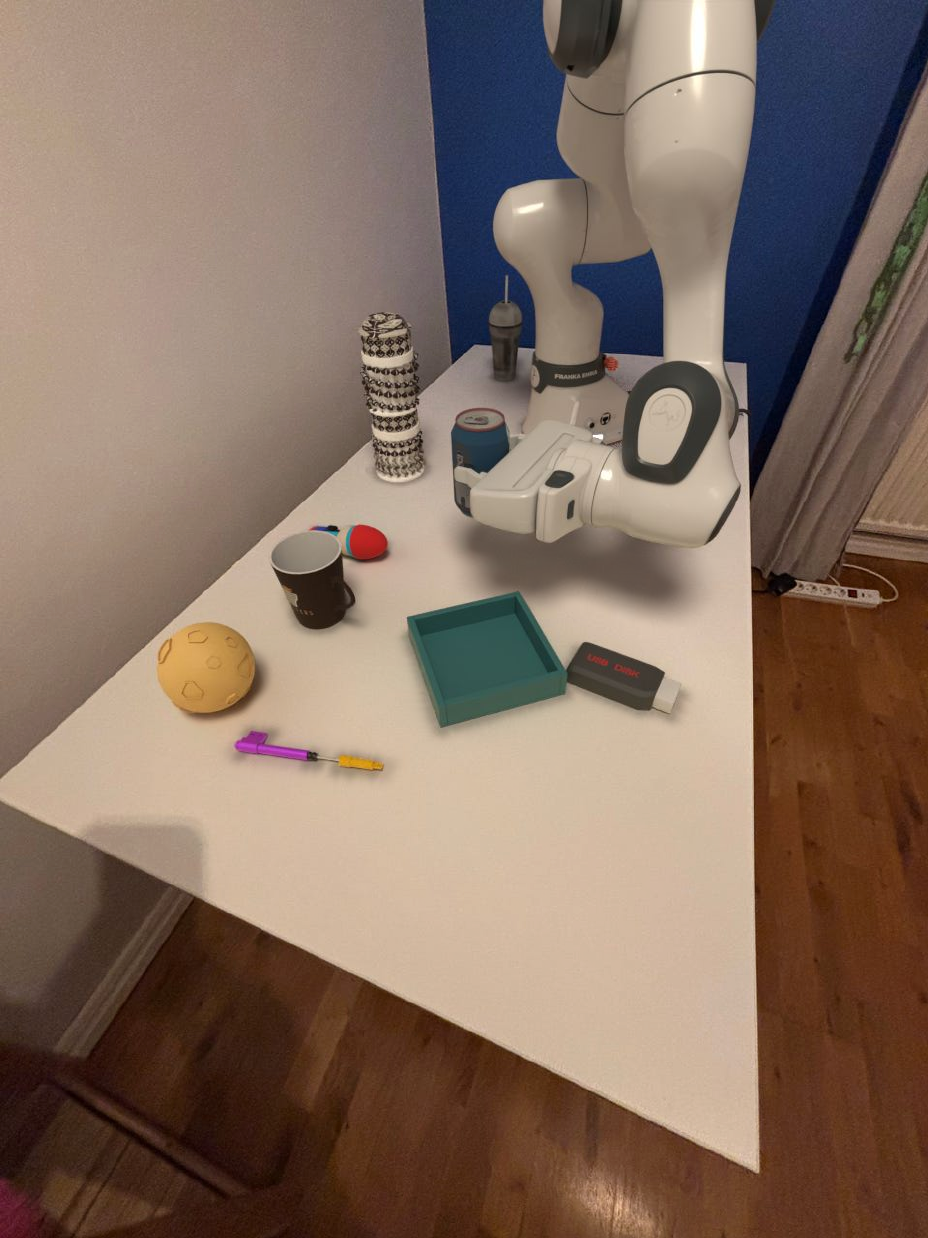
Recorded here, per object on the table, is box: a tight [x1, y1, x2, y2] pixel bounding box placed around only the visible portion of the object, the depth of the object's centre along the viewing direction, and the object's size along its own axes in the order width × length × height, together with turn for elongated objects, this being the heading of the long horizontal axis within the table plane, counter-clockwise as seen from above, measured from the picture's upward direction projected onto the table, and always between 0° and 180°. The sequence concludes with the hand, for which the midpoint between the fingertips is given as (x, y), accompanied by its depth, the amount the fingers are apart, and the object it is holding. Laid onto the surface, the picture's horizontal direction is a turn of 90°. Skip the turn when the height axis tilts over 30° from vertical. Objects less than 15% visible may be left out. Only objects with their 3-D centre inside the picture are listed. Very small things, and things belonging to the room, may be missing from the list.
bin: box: [406, 590, 568, 728], centre depth 70 cm, size 15×15×4 cm
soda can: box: [450, 407, 511, 519], centre depth 73 cm, size 7×7×12 cm
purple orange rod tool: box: [234, 730, 384, 771], centre depth 62 cm, size 3×1×16 cm
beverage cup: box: [487, 274, 524, 382], centre depth 126 cm, size 7×7×20 cm
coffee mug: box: [268, 529, 356, 630], centre depth 74 cm, size 12×9×10 cm
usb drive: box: [565, 641, 683, 715], centre depth 67 cm, size 5×12×3 cm, turn 60°
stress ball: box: [156, 621, 256, 715], centre depth 65 cm, size 10×10×10 cm
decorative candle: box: [356, 311, 426, 483], centre depth 96 cm, size 9×9×25 cm
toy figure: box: [309, 524, 389, 560], centre depth 87 cm, size 8×5×15 cm
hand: (474, 456), depth 73 cm, fingers closed on soda can, 7 cm apart
